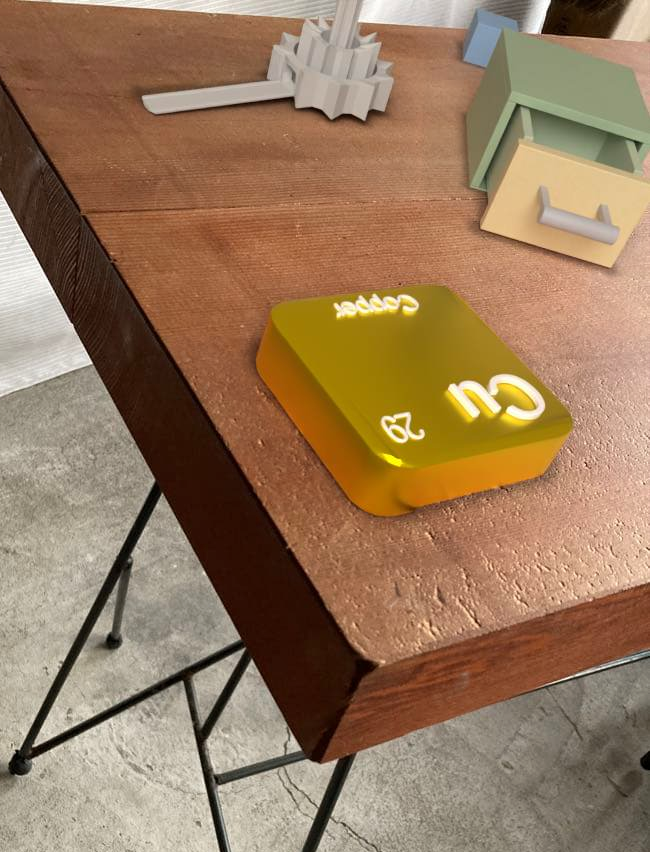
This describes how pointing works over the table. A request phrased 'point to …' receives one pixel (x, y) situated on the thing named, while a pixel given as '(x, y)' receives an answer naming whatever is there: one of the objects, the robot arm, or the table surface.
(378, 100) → the mechanical component
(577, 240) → the drawer
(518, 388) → the element tile
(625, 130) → the cabinet
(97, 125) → the table surface
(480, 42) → the block
